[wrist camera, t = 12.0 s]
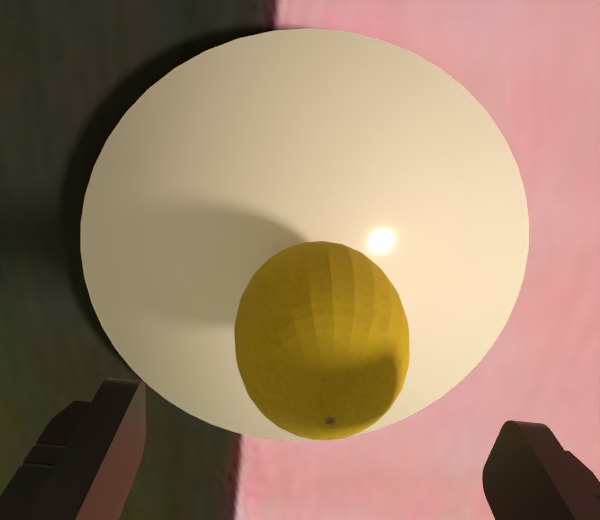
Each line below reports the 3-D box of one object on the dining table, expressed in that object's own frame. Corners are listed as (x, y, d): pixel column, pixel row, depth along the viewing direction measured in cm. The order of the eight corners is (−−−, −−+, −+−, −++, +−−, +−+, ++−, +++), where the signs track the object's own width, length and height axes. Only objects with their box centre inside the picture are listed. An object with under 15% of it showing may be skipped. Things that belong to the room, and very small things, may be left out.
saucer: (78, -7, 15) (62, -14, 14) (581, 70, 16) (602, 70, 15) (102, 407, 22) (92, 425, 21) (450, 436, 23) (458, 455, 22)
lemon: (225, 237, 17) (179, 363, 10) (362, 193, 17) (420, 293, 9) (272, 348, 19) (262, 520, 12) (394, 313, 19) (462, 471, 11)
